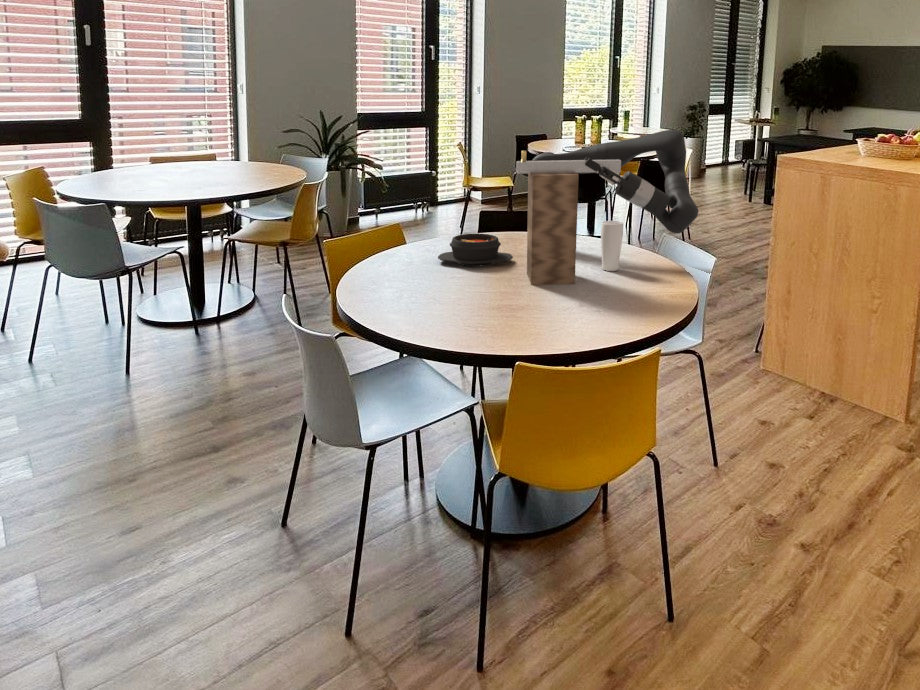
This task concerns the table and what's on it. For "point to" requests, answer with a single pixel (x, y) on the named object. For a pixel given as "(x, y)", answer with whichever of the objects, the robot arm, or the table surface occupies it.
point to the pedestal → (552, 228)
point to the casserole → (475, 250)
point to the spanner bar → (561, 166)
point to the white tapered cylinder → (611, 244)
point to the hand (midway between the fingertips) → (585, 160)
